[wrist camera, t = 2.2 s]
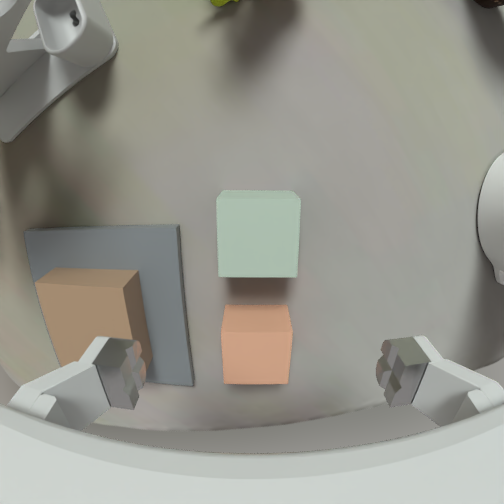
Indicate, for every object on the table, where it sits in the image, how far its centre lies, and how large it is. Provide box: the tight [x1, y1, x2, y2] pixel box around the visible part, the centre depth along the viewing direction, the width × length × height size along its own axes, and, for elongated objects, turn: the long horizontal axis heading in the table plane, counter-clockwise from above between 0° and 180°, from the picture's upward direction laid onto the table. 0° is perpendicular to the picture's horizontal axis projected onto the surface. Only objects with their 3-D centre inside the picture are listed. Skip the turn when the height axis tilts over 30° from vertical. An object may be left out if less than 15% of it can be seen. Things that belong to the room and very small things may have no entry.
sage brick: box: [216, 190, 301, 277], centre depth 25 cm, size 6×6×5 cm
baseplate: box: [24, 224, 194, 386], centre depth 28 cm, size 18×18×5 cm
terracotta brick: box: [221, 305, 293, 384], centre depth 28 cm, size 6×6×5 cm
